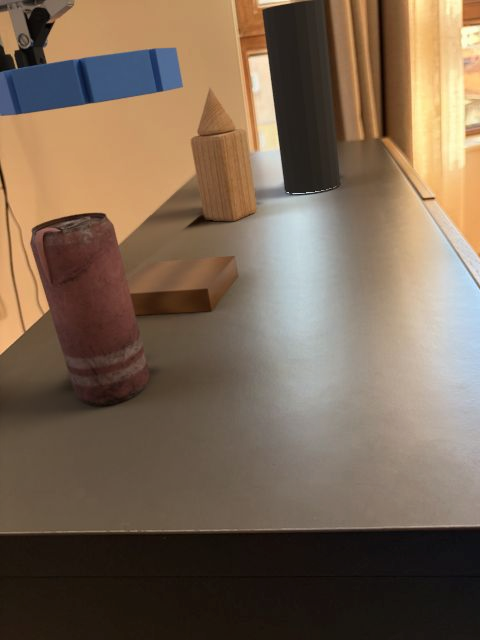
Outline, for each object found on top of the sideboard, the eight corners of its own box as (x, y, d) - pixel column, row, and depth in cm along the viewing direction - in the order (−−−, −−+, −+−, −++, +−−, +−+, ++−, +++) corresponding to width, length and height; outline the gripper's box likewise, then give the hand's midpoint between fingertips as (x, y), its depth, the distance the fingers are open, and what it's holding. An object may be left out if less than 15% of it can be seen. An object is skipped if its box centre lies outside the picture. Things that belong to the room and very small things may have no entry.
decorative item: (203, 221, 105) (179, 91, 97) (228, 211, 110) (208, 86, 102) (234, 222, 101) (212, 87, 93) (259, 211, 106) (240, 81, 98)
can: (59, 406, 51) (5, 234, 45) (104, 370, 56) (61, 212, 50) (123, 412, 48) (74, 231, 43) (164, 373, 54) (126, 207, 48)
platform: (114, 316, 69) (109, 294, 68) (152, 281, 78) (148, 262, 77) (211, 311, 66) (207, 288, 65) (238, 276, 75) (235, 255, 74)
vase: (342, 179, 121) (326, 1, 109) (338, 191, 112) (320, -3, 100) (288, 185, 123) (267, 11, 111) (280, 197, 114) (256, 9, 102)
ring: (-32, 122, 48) (-45, 78, 47) (57, 104, 60) (48, 70, 59) (142, 96, 45) (132, 49, 43) (198, 83, 57) (192, 46, 56)
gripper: (75, -178, 47) (131, 88, 55) (-105, -130, 51) (-29, 112, 59) (22, -213, 41) (94, 94, 48) (-180, -155, 45) (-84, 122, 52)
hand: (26, 102), depth 53 cm, fingers closed on ring, 2 cm apart
